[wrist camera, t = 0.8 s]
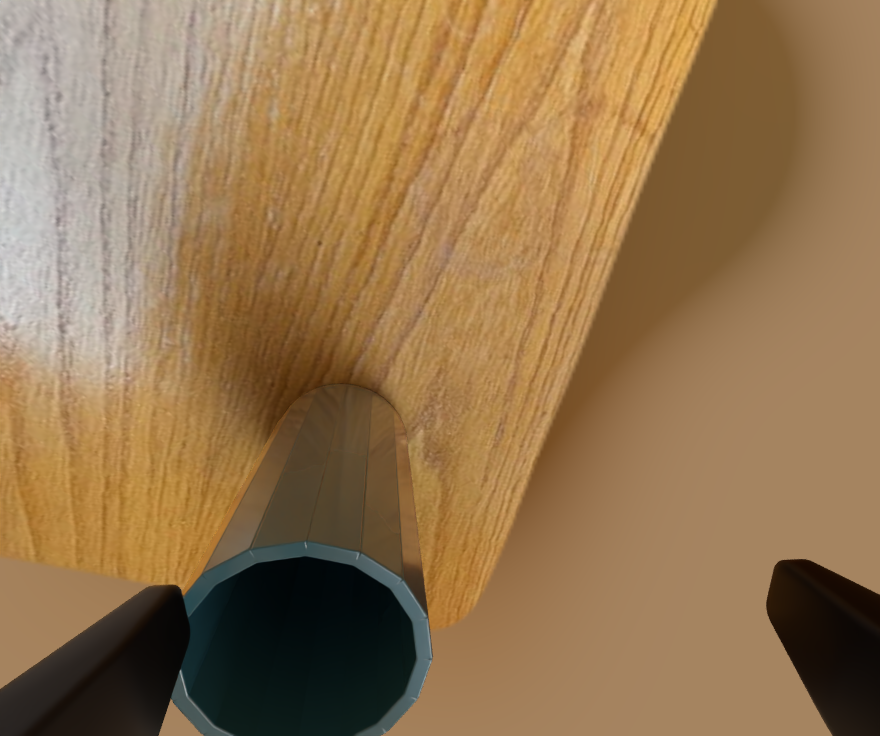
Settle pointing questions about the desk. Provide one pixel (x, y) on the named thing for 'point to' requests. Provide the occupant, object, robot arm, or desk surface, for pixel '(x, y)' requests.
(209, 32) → the desk surface
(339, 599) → the cup
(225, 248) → the desk surface
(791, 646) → the robot arm
